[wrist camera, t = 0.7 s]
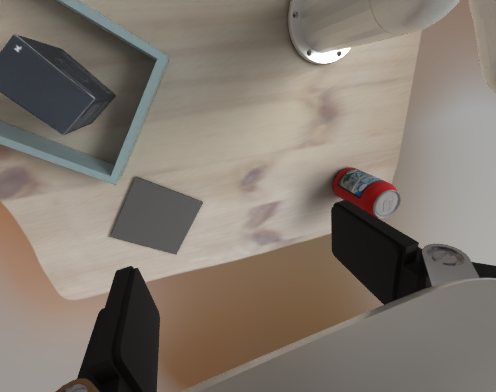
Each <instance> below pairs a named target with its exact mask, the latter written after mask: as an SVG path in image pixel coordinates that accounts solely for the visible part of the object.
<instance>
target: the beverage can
mask: <svg viewBox="0 0 496 392" xmlns="http://www.w3.org/2000/svg"><path fill="white" fill-rule="evenodd" d="M333 190H334V192H335V194H336V195H337V196H339V197H340V198H342V199H343V200H348V201H350V202H351V203H353V204H355V205H356V206H358V207H360V208H361V209H363V210H365V211H366V212H368V213H370V214H371V215H373V216H375V217H376V218H387V217H389V216H391V215H392V214H394V213H395V212H396V211H397V209H398V207H399V206H400V202H401V196H400V194H399V193H398V192H397V190H396V188H395V187H394V186H393V185H392V184H390V183H388V182H385V181H383V180H381V179H379V178H376V177H374V176H372V175H369V174H367V173H365V172H362V171H360V170H358V169H355V168H346V169H344V170H342V171H341V172H340V173H339V174H338V175H337V176H336V178H335V180H334V183H333Z"/></svg>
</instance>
